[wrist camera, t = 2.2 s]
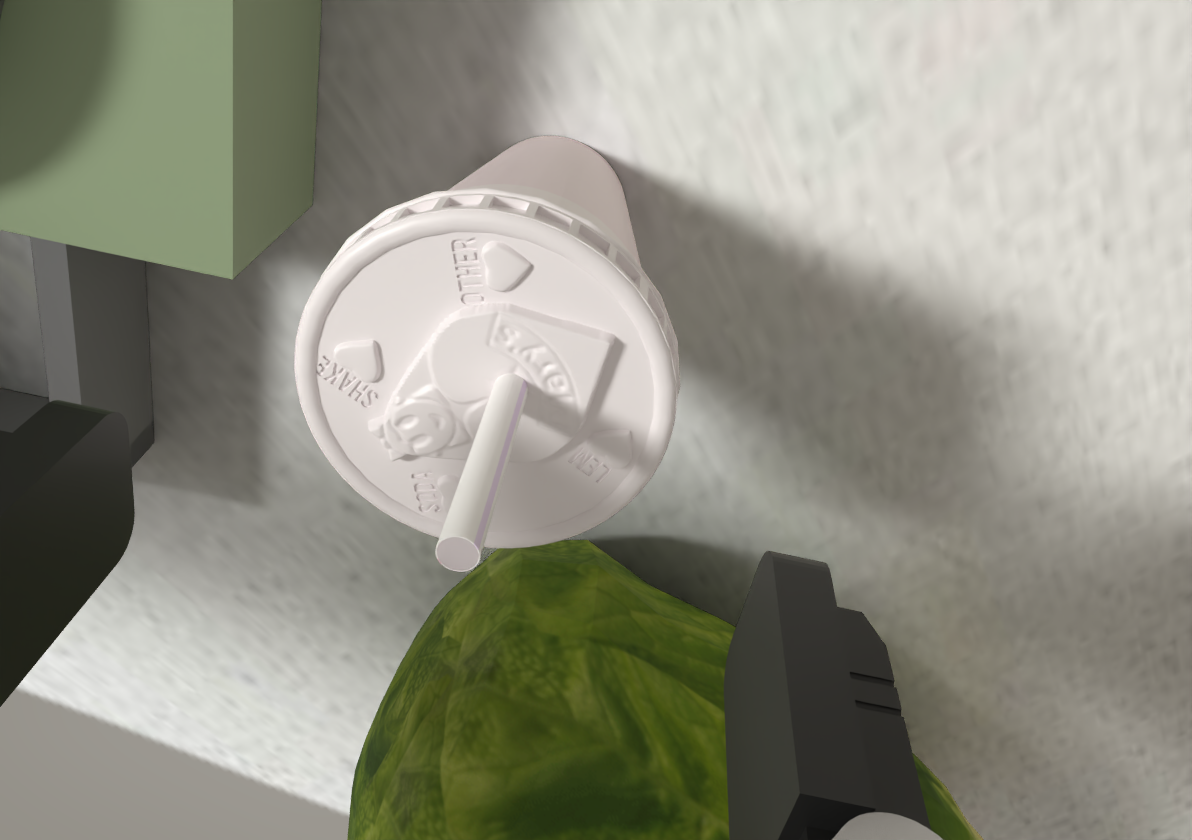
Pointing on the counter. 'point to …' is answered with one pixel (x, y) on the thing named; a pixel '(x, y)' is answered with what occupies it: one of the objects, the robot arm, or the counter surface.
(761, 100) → the counter surface
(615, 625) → the lettuce
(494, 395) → the smoothie
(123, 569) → the counter surface
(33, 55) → the green base
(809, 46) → the counter surface
